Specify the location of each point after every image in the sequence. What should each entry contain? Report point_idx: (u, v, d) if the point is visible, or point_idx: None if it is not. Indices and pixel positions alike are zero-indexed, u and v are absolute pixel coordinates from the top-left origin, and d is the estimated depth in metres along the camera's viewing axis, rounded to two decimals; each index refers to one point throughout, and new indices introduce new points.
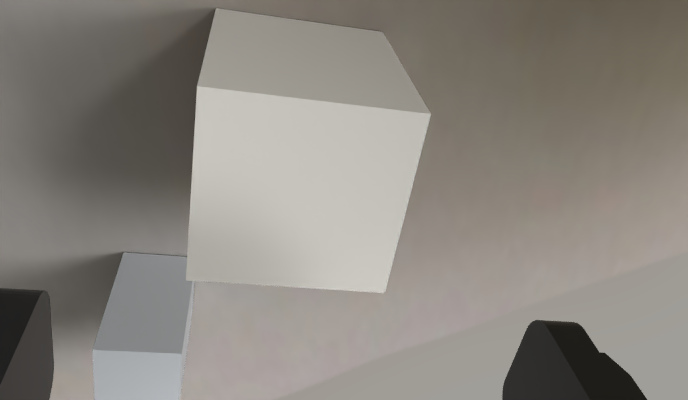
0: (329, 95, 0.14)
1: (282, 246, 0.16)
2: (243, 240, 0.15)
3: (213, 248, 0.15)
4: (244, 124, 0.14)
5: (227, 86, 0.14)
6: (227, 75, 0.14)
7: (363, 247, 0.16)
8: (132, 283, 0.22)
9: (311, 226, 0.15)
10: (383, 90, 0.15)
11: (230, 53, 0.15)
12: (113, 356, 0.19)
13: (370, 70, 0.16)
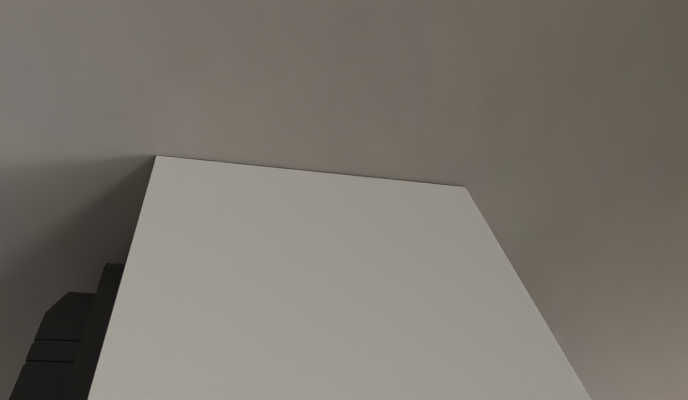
0: None
1: None
2: None
3: None
4: None
5: None
6: None
7: None
8: None
9: None
10: None
11: (166, 342, 0.06)
12: None
13: (484, 349, 0.07)
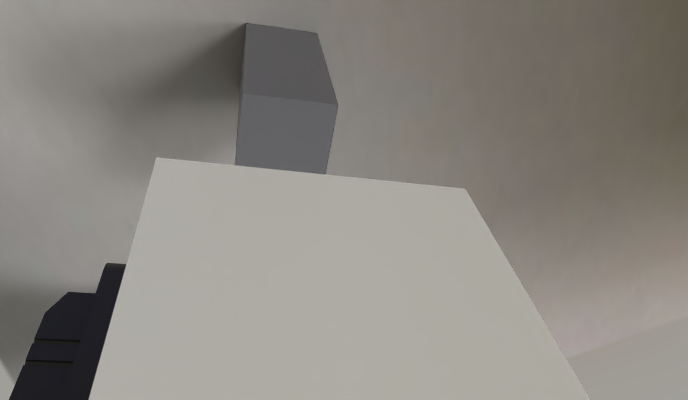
0: None
1: None
2: None
3: None
4: None
5: None
6: None
7: None
8: None
9: None
10: None
11: (165, 345, 0.06)
12: None
13: (484, 352, 0.07)
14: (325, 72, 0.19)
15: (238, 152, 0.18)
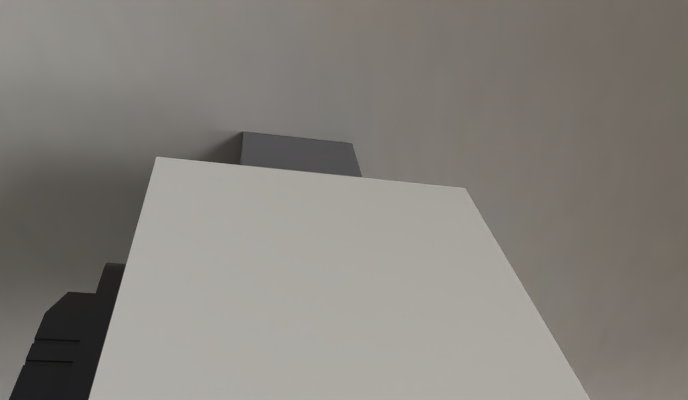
0: None
1: None
2: None
3: None
4: None
5: None
6: None
7: None
8: None
9: None
10: None
11: (166, 343, 0.06)
12: None
13: (484, 350, 0.07)
14: None
15: None
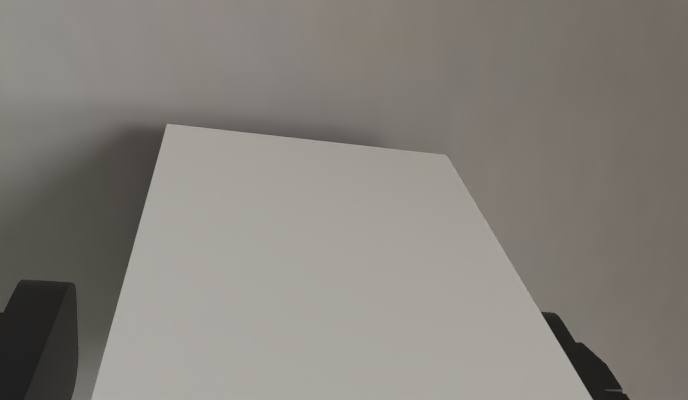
0: None
1: None
2: None
3: None
4: None
5: None
6: (164, 364, 0.06)
7: None
8: None
9: None
10: (497, 355, 0.07)
11: (179, 268, 0.08)
12: None
13: (455, 282, 0.08)
14: None
15: None
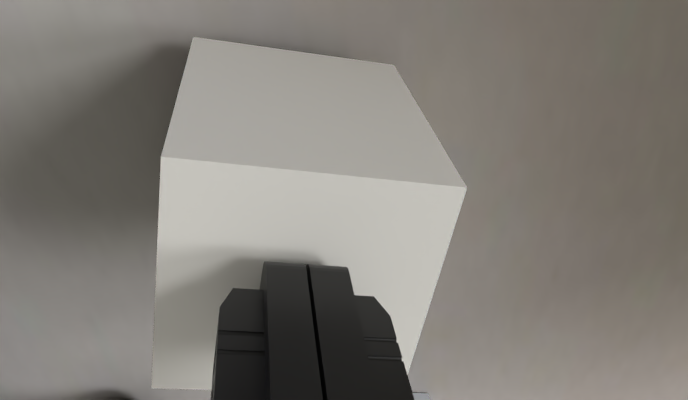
0: (336, 163, 0.11)
1: None
2: None
3: (185, 351, 0.12)
4: (224, 203, 0.11)
5: (202, 155, 0.10)
6: (202, 137, 0.11)
7: None
8: None
9: None
10: (403, 151, 0.12)
11: (208, 102, 0.12)
12: None
13: (384, 121, 0.13)
14: None
15: None
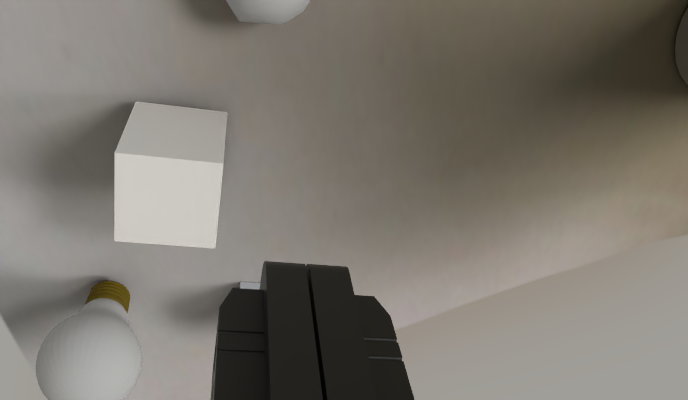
0: (176, 155, 0.31)
1: (160, 224, 0.33)
2: (141, 221, 0.32)
3: (126, 225, 0.32)
4: (137, 168, 0.31)
5: (128, 152, 0.31)
6: (130, 146, 0.31)
7: (200, 225, 0.33)
8: None
9: (173, 215, 0.32)
10: (206, 150, 0.32)
11: (135, 132, 0.32)
12: None
13: (205, 139, 0.33)
14: None
15: None
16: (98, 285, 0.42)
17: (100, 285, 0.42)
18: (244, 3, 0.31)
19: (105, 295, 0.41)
